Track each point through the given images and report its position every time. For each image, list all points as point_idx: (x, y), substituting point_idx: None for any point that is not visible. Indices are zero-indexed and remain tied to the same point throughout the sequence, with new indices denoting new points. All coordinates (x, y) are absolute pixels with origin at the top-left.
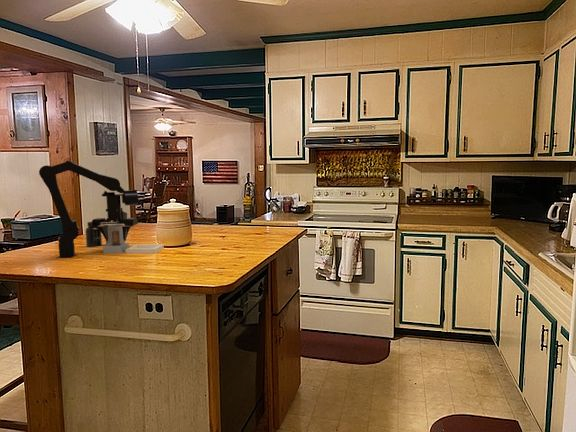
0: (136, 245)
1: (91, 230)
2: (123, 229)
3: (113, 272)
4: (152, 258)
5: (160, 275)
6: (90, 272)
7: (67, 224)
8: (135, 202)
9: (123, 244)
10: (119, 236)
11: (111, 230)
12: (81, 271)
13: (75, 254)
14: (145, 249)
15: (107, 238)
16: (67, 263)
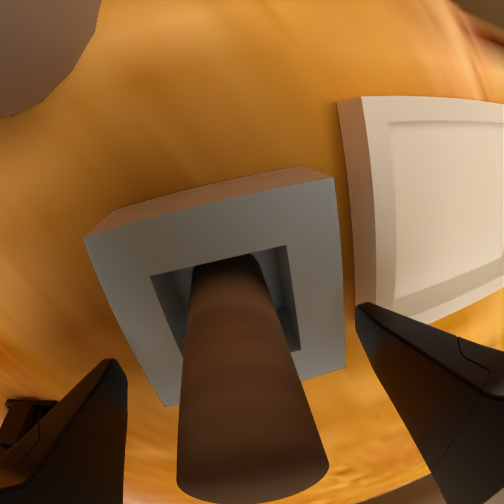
0: (387, 136)
1: None
2: (453, 480)
3: (402, 470)
4: (493, 335)
5: None
6: (343, 494)
7: None
8: None
9: (321, 293)
10: (23, 8)
11: None
12: (311, 501)
13: (49, 410)
14: (490, 292)
15: (115, 397)
16: (175, 486)
